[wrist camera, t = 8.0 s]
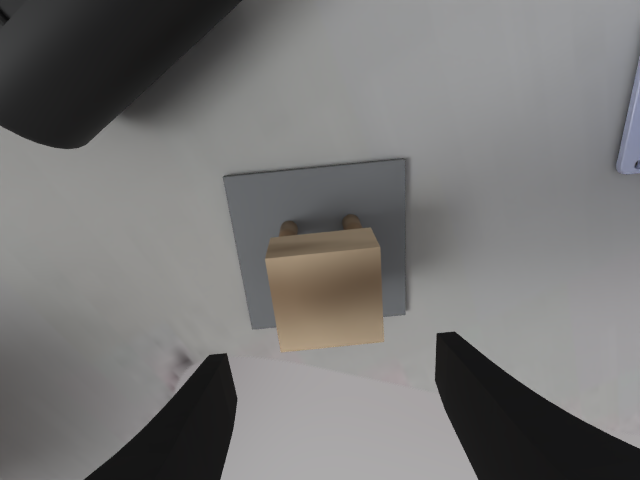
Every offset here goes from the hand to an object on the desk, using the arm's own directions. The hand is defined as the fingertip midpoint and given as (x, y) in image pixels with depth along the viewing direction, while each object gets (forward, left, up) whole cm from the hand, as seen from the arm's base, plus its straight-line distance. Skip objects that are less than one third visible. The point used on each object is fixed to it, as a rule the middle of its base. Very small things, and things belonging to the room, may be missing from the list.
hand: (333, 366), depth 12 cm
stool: (0, 0, -10) cm, 10 cm away
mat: (0, 0, -10) cm, 10 cm away
